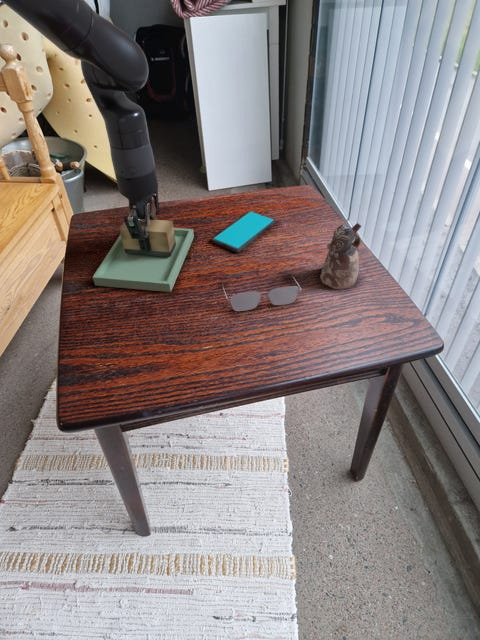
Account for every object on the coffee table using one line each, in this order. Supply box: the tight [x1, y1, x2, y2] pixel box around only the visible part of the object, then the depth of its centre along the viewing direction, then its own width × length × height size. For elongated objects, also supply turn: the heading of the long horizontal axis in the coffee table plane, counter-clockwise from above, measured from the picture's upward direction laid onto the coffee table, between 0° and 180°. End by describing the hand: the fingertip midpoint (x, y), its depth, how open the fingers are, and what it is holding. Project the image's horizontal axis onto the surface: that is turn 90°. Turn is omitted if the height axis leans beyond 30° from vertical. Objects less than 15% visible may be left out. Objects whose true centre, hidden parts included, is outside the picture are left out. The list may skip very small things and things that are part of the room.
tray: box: [92, 227, 195, 293], centre depth 89 cm, size 16×20×2 cm
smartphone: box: [211, 210, 276, 253], centre depth 96 cm, size 7×1×15 cm
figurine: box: [319, 222, 362, 290], centre depth 80 cm, size 7×7×12 cm
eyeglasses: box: [221, 273, 302, 312], centre depth 80 cm, size 14×8×4 cm, turn 102°
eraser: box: [118, 219, 176, 257], centre depth 88 cm, size 10×4×6 cm, turn 81°
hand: (149, 243), depth 90 cm, fingers closed on eraser, 4 cm apart
